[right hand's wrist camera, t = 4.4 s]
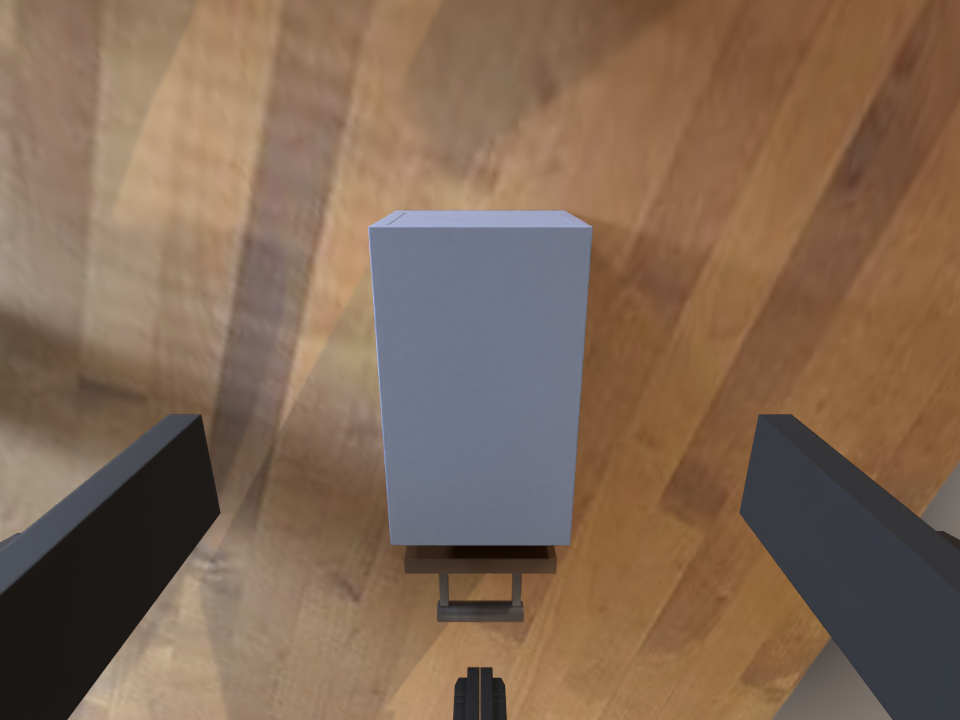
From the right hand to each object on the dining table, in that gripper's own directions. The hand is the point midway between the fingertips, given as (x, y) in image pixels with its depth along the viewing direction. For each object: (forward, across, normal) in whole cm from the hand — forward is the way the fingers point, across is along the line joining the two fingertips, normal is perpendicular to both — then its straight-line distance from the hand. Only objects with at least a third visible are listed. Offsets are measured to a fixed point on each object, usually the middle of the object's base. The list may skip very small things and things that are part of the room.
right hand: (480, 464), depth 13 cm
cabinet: (+25, 0, -6) cm, 25 cm away
